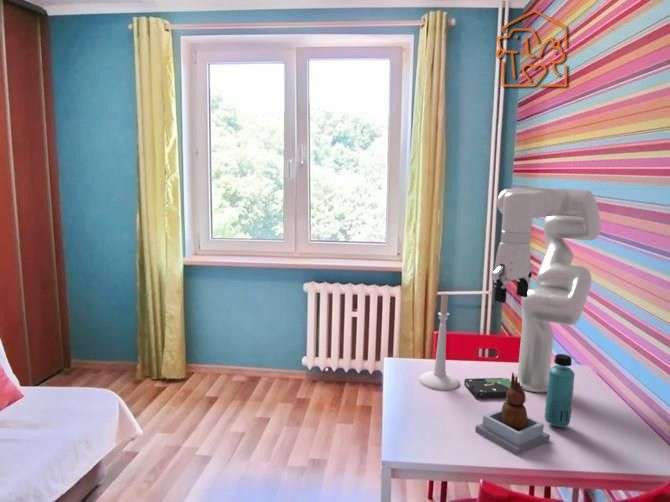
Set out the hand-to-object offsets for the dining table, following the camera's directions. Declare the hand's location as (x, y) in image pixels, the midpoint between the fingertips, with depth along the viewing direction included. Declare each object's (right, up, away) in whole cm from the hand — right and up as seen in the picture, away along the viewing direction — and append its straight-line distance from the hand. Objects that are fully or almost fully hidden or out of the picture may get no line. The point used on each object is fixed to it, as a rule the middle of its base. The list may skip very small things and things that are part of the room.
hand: (511, 298), depth 139 cm
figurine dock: (-3, -35, -9) cm, 36 cm away
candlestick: (-15, -29, +24) cm, 41 cm away
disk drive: (0, -31, +18) cm, 36 cm away
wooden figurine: (-3, -34, -9) cm, 35 cm away
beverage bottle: (+11, -35, -3) cm, 36 cm away
